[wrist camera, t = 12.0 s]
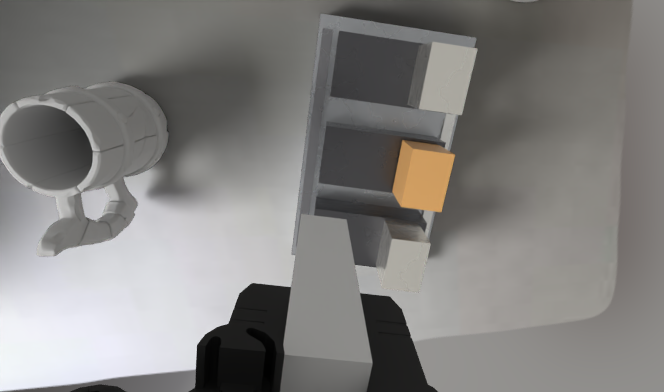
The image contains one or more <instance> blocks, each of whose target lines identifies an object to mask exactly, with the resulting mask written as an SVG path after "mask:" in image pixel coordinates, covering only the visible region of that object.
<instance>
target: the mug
mask: <svg viewBox="0 0 664 392" xmlns="http://www.w3.org/2000/svg"><path fill="white" fill-rule="evenodd" d="M168 138H169V132H168V131H167V120H166V117H165V115H164V113H163V111H162V109H161V108H160V106H159V105H158V104H157V102H156V101H155V100H154V99H152V98H151V97H150V96H149V95H146V94H144V92H143V91H141V90H139V89H136V88H134V87H132V86H130V85H127V84H123V83H119V82H116V81H109V82H103V83H97V84H94V85H91V86H89V87H87V88H85V89H84V88H81V87H79V86H68V87H64V88H59V89H54V90H52V91H49V92H48V93H46V94H44V95H36V96H30V97H25V98H22V99H20V100H18V101H16V102H14V103H12V104H10V105H9V106H8V107H7V108H6V109H5V110H4V111H3V113H2V114H1V116H0V158H1V160H2V162H3V164H4V165H5V167H6V168H7V169H8V171H9V172H10V173H11V175H12V176H13V177H14V178H15V179H16V180H17V181H18V182H20V183H21V184H22V185H24V186H26V187H27V188H32V190H33V191H35V192H37V193H39V194H42V195H46V196H50V197H55V198H56V204H57V210H58V213H59V220H58V221H57V222H55V223H53V224H52V225H51V226H50V227H49V228H48V229H47V231H46V233H45V234H44V235H43V236H42V238H41V239H40V241H39V243H38V247H37V256H43V257H44V256H56V255H57V254H59V253H60V252H61V251H63V250H65V249H67V248H72V247H78V246H82V245H91V244H95V243H100V242H103V241H109V240H111V239H113V238H115V237H116V236H117V235H118V234H119V233H120V232H121V231H123V229H124V228H126V227H127V226H128V225H129V224H130V223H131V221H132V219H133V218H134V216H135V214H134V211H135V209H136V208H137V206H138V202H137V200H136V199H135V198H134V197H133V196H132V195H131V194H130V192H129V190H128V189H127V187H126V185H125V182H124V178H123V177H129V176H134V175H137V174H140V173H142V172H144V171H146V170H148V169H150V168H151V167H152V166H154V165H155V164H156V163H157V162H158V160H159V159H160V158H161V156H162V154H163V153H164V151H165V149H166V147H167V144H168ZM101 188H104V189H105V191H106V193H107V195H108V198H109V202H107V203H106V206H105V209H104V212H103V213H102V217H101V218H99V219H98V220H95V221H94V220H91V219H89V218H87V217H85V215H84V211H83V206H82V200H81V193H82V192H85V191H92V190H97V189H101Z"/></svg>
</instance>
